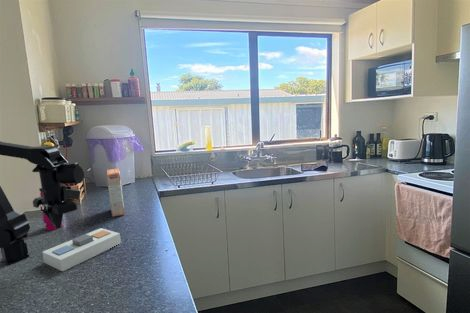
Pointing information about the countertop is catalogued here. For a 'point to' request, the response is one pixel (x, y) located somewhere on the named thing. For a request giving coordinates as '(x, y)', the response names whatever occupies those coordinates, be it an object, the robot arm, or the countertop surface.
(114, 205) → the cracker box
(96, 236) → the tan square block
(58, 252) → the key slate
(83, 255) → the keypad
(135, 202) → the countertop surface
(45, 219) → the pepper mill
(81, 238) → the key charcoal
